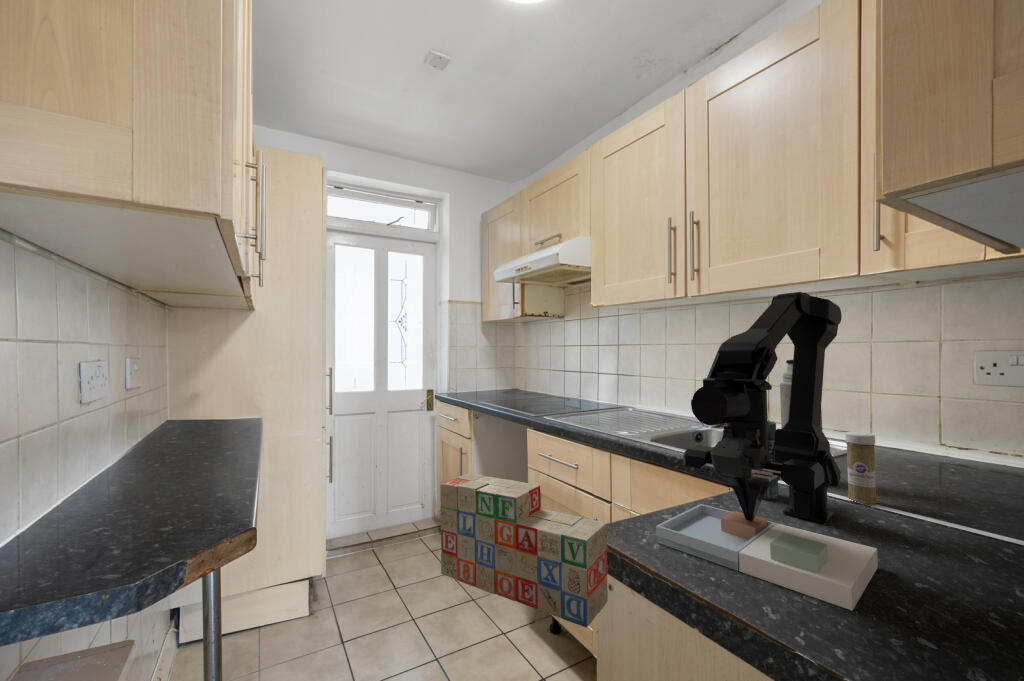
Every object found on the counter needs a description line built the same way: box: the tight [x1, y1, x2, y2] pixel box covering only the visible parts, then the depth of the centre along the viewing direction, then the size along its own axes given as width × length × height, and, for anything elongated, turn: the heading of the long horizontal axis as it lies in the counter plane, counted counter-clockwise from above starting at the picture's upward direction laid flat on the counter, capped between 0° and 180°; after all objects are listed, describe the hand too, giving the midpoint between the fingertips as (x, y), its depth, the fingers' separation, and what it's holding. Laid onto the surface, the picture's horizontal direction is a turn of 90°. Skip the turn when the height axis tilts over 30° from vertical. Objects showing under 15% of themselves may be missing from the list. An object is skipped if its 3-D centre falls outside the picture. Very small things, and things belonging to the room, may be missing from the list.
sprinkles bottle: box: [845, 431, 878, 505], centre depth 84 cm, size 5×5×13 cm
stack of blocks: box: [439, 472, 609, 628], centre depth 54 cm, size 21×6×12 cm, turn 56°
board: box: [738, 523, 879, 611], centre depth 58 cm, size 15×12×2 cm
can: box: [751, 420, 779, 501], centre depth 89 cm, size 6×6×15 cm
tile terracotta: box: [721, 510, 768, 539], centre depth 68 cm, size 5×5×2 cm
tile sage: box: [770, 533, 828, 573], centre depth 55 cm, size 5×5×2 cm
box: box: [655, 503, 777, 571], centre depth 67 cm, size 15×12×2 cm
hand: (749, 520), depth 67 cm, fingers closed
